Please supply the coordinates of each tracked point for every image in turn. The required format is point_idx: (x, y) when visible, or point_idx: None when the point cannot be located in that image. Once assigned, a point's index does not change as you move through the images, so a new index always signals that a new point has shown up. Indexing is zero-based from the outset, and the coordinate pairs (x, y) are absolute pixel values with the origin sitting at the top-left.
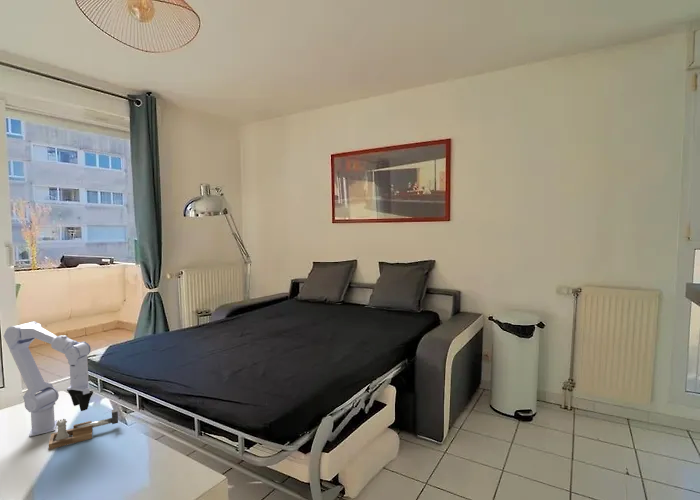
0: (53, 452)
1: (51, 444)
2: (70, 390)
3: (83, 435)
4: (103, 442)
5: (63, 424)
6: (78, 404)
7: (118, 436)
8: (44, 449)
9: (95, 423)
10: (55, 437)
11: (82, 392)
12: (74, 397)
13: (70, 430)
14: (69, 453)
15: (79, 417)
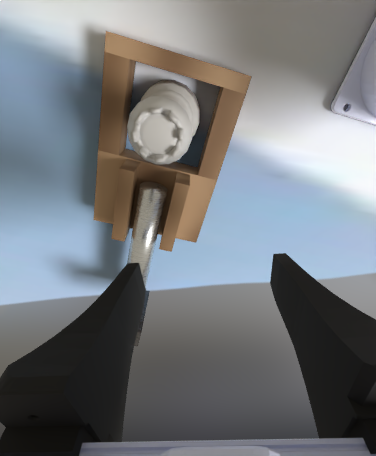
0: (65, 51)
1: (105, 48)
2: (359, 380)
3: (95, 192)
4: (37, 228)
5: (131, 138)
6: (271, 275)
7: (56, 268)
8: (136, 16)
9: (131, 254)
10: (220, 92)
11: (20, 452)
12: (303, 309)
13: (203, 163)
14: (7, 111)
15: (364, 222)
